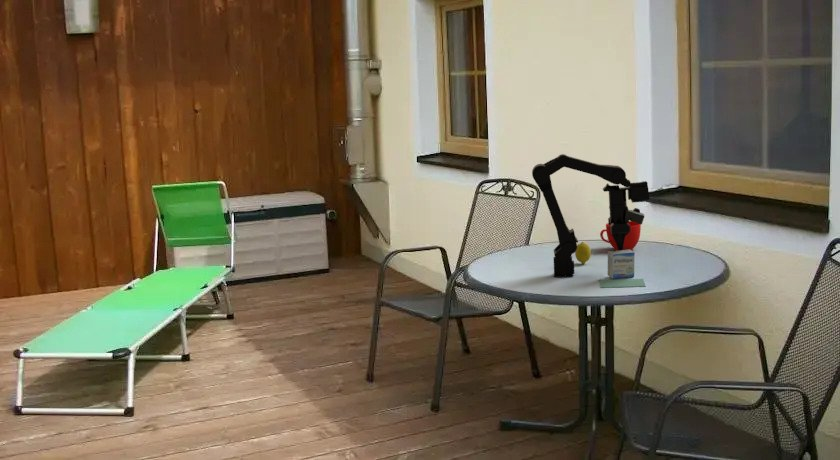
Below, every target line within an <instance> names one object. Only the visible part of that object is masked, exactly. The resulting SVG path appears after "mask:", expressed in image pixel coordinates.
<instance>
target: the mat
mask: <svg viewBox="0 0 840 460" xmlns="http://www.w3.org/2000/svg"><path fill="white" fill-rule="evenodd" d="M599 282H600V283H599V284H600V288H601V289H607V288H608V289H609V288H610V289H612V288H638V287H639V288H642V287H643V288H644V287H645V288H646V283H645V281H644V278H627V279H626V278H620V279H599Z"/></svg>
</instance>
